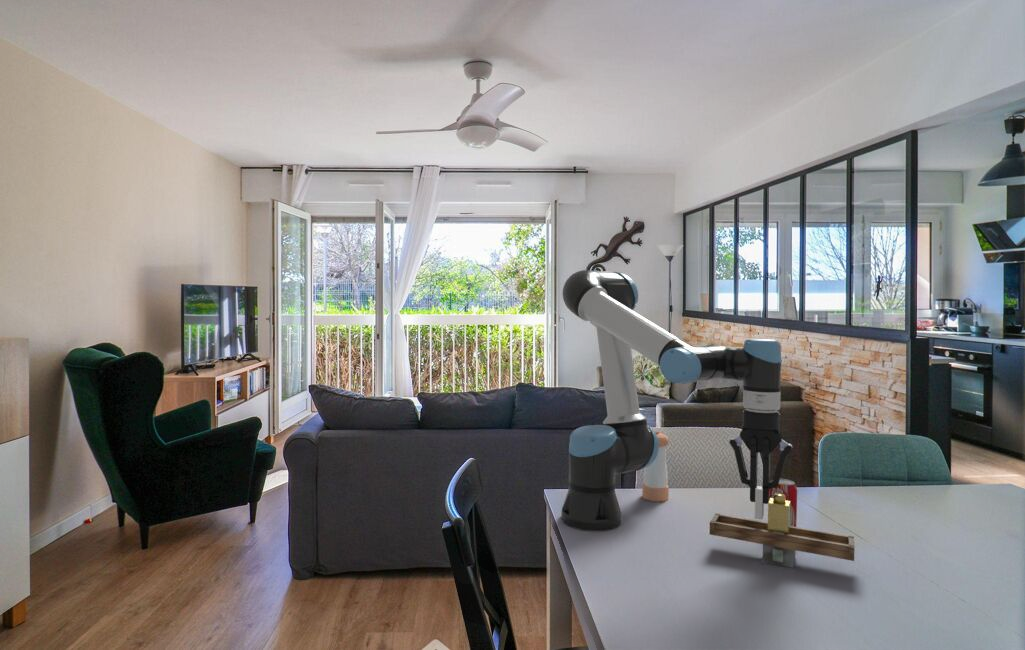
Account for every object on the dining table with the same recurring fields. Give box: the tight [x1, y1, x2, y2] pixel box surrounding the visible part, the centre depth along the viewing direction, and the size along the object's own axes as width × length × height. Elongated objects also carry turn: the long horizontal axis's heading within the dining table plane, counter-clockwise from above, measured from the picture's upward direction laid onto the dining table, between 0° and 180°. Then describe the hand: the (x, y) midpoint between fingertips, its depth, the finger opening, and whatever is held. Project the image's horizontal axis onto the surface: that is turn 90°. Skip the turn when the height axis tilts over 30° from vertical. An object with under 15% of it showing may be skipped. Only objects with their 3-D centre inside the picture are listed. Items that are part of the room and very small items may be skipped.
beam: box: [709, 512, 856, 569], centre depth 131 cm, size 28×7×7 cm, turn 61°
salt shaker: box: [641, 430, 670, 502], centre depth 173 cm, size 7×7×19 cm
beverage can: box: [769, 478, 798, 527], centre depth 149 cm, size 6×6×12 cm
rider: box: [767, 493, 790, 534], centre depth 131 cm, size 4×4×8 cm
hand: (759, 517), depth 133 cm, fingers closed
